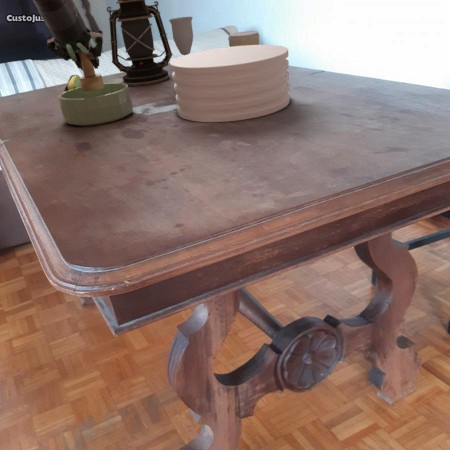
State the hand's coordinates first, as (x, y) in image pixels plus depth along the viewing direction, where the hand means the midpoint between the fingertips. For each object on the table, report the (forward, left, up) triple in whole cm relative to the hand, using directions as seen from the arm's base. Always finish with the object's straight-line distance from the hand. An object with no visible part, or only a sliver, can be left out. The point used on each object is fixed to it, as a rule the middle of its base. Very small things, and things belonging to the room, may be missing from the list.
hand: (89, 66), depth 118 cm
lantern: (+13, +41, -12) cm, 45 cm away
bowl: (0, -2, -12) cm, 12 cm away
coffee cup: (+44, +23, -12) cm, 51 cm away
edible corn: (-10, +35, -12) cm, 38 cm away
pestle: (0, -2, -5) cm, 5 cm away
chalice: (+26, +21, -12) cm, 35 cm away
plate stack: (+34, -11, -12) cm, 37 cm away
